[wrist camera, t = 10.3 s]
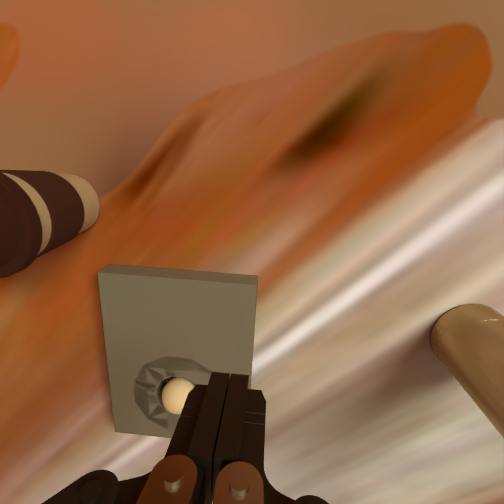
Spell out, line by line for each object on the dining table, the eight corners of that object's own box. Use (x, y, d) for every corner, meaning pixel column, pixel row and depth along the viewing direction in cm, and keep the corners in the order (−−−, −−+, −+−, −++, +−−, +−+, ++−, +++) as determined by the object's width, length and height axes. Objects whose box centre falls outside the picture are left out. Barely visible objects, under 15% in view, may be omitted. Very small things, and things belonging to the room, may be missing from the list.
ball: (197, 377, 47) (192, 367, 43) (202, 412, 44) (196, 404, 40) (165, 386, 46) (157, 376, 43) (167, 421, 43) (158, 414, 40)
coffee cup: (126, 199, 38) (36, 225, 24) (86, 254, 41) (-16, 308, 26) (59, 144, 36) (-80, 137, 22) (23, 206, 39) (-122, 234, 25)
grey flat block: (258, 275, 40) (256, 285, 37) (247, 428, 48) (246, 446, 45) (109, 264, 41) (97, 272, 38) (124, 415, 49) (114, 431, 46)
